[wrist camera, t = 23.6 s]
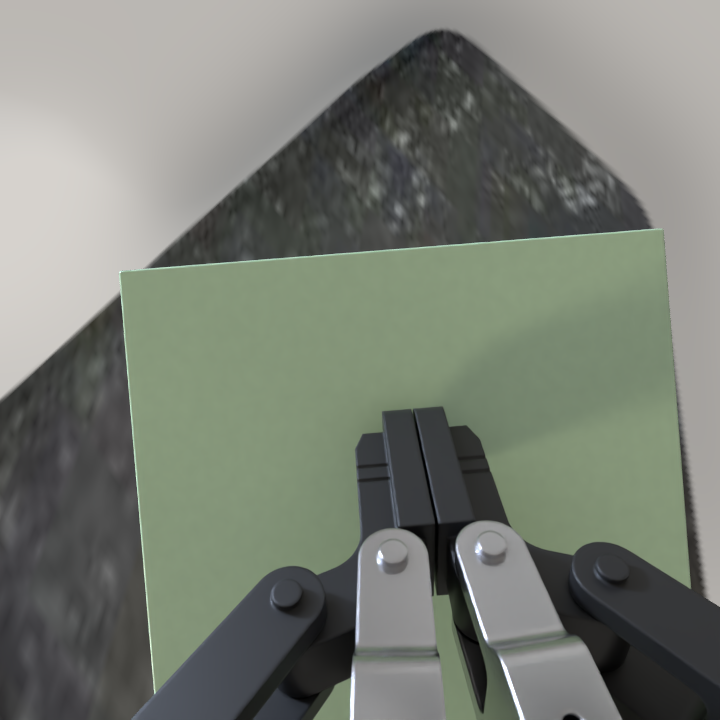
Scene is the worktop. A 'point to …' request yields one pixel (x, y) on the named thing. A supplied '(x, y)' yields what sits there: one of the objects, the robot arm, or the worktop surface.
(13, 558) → the worktop surface
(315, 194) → the worktop surface
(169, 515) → the lid
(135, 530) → the worktop surface
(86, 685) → the worktop surface
